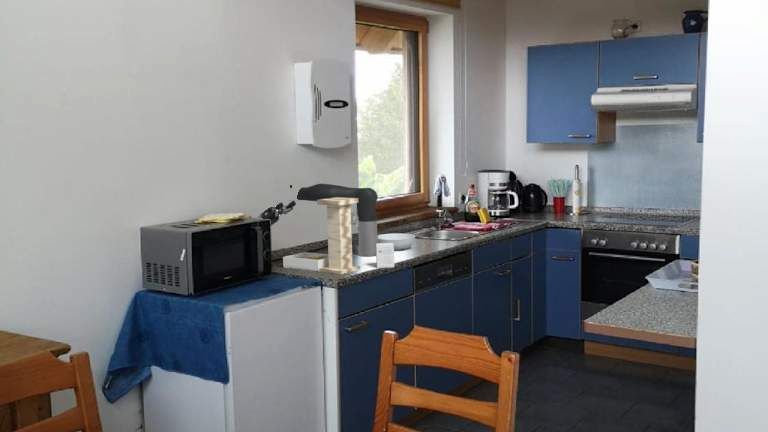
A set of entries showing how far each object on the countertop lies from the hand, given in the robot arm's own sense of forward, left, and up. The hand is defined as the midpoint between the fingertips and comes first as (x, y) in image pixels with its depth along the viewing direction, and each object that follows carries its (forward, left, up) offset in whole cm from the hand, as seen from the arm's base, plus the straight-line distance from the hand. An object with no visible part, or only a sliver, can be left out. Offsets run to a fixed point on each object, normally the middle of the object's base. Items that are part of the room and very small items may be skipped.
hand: (288, 203), depth 364 cm
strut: (0, +11, -28) cm, 30 cm away
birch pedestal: (0, +29, -29) cm, 41 cm away
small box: (-18, +41, -29) cm, 54 cm away
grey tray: (-1, +11, -29) cm, 31 cm away
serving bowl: (-62, +16, -29) cm, 71 cm away
